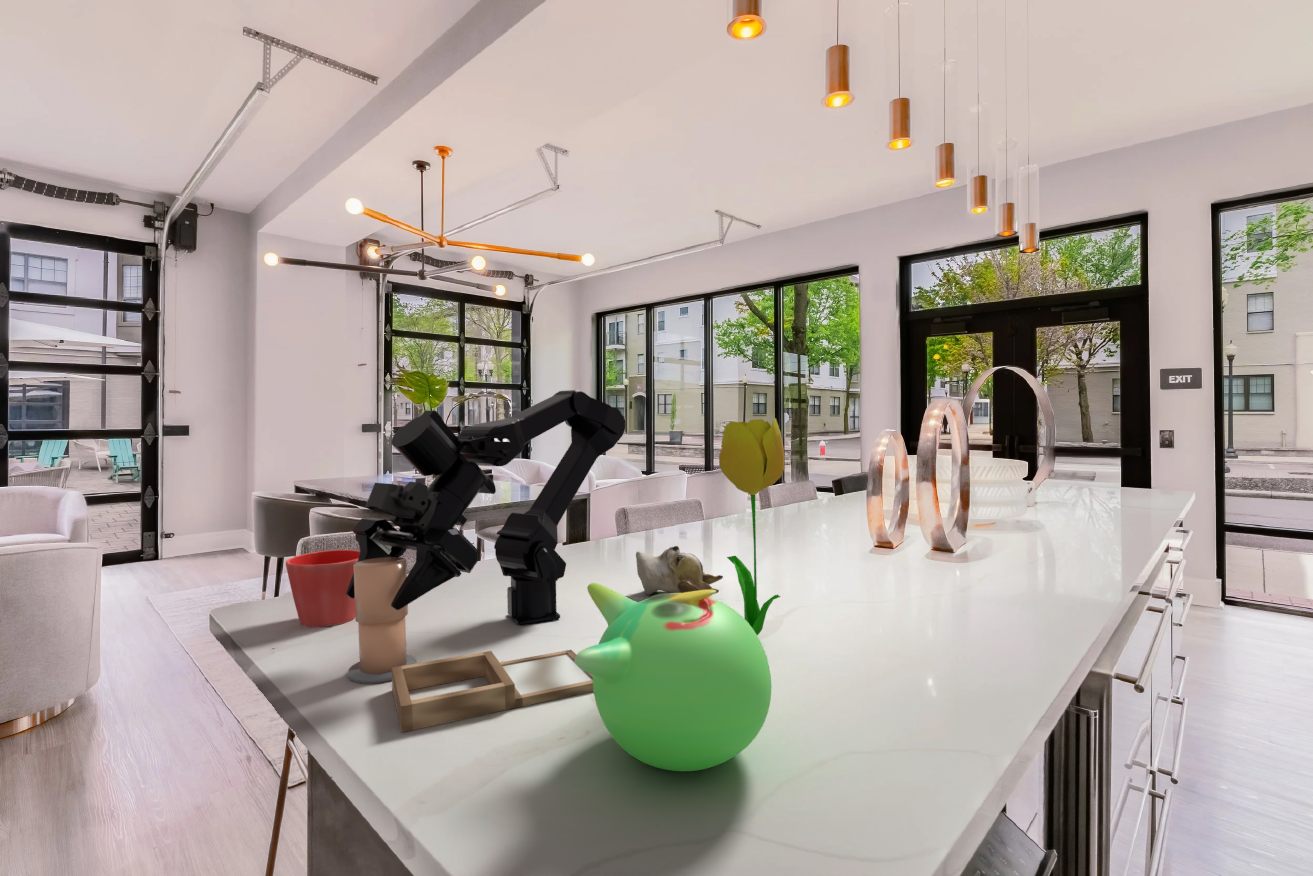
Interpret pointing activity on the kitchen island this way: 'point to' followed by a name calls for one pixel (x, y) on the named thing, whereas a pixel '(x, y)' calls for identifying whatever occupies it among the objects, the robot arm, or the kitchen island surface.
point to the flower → (752, 490)
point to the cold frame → (506, 689)
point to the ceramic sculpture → (673, 572)
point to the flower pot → (323, 586)
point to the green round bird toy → (677, 678)
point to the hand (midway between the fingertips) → (371, 602)
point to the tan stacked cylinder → (380, 614)
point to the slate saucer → (364, 678)
